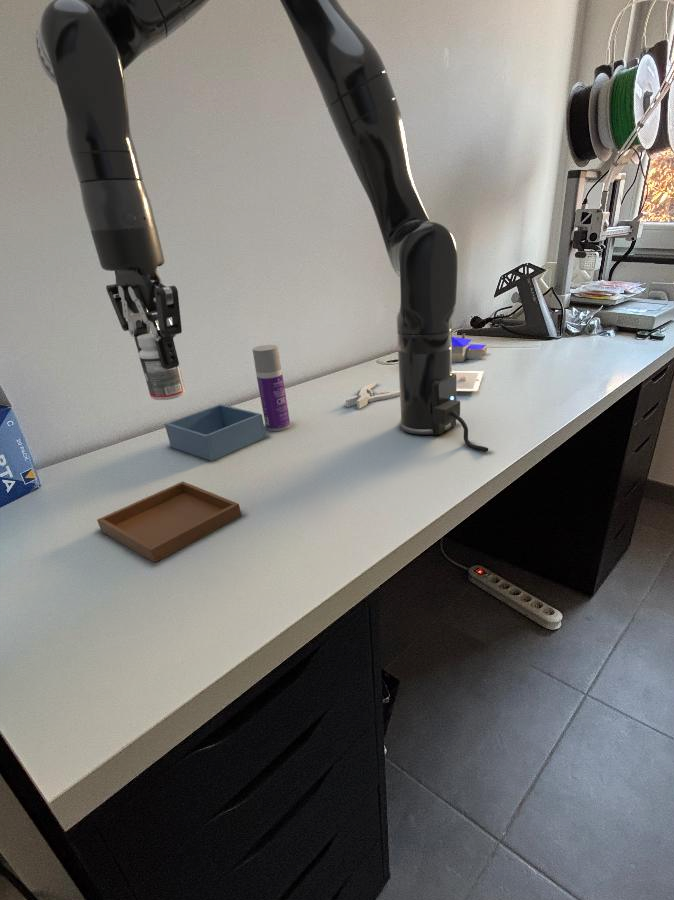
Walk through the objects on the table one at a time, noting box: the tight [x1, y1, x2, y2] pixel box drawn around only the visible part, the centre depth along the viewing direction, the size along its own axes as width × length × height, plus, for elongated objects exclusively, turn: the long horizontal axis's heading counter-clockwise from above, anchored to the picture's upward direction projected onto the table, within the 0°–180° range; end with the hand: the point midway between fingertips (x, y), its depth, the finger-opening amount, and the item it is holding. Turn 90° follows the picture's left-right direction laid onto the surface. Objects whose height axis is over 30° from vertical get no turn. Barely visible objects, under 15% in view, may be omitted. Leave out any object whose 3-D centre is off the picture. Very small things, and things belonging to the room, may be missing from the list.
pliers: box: [345, 381, 400, 410], centre depth 114 cm, size 10×2×15 cm
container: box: [252, 344, 291, 432], centre depth 98 cm, size 5×5×15 cm
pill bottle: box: [137, 332, 186, 401], centre depth 73 cm, size 5×5×8 cm
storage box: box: [164, 403, 267, 462], centre depth 96 cm, size 12×12×4 cm
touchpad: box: [452, 370, 484, 392], centre depth 118 cm, size 8×15×2 cm, turn 166°
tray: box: [96, 480, 242, 563], centre depth 71 cm, size 13×13×2 cm
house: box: [452, 333, 488, 363], centre depth 137 cm, size 11×14×6 cm
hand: (160, 364), depth 73 cm, fingers closed on pill bottle, 4 cm apart
